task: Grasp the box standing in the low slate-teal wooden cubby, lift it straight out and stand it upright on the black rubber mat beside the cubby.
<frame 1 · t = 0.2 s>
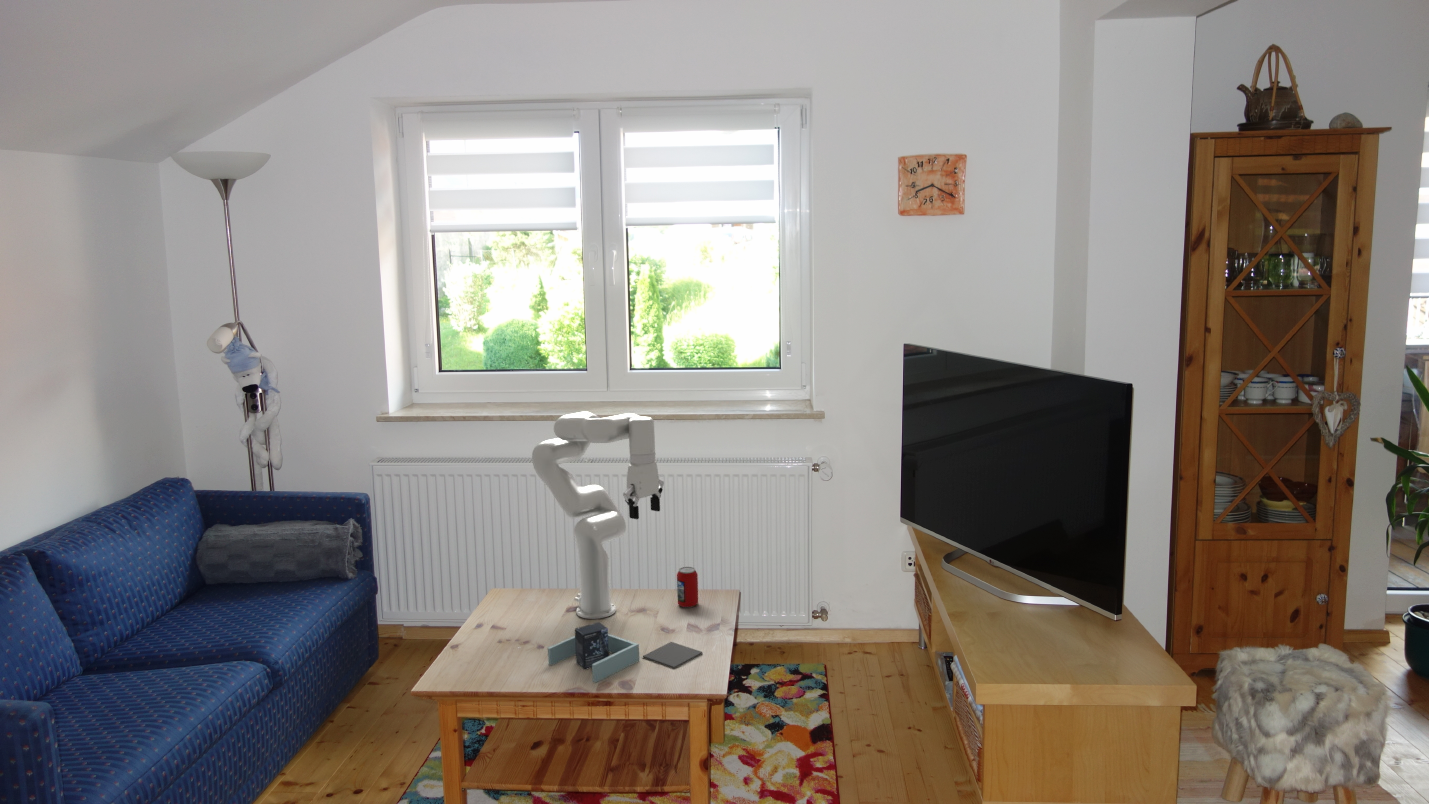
hand: (645, 514, 279), 36 cm above the table, tool pointing down, fingers open, 9 cm apart
box: (592, 663, 263), on the table
cubby: (592, 663, 263), on the table
beverage can: (688, 605, 305), on the table
mat: (672, 655, 267), on the table
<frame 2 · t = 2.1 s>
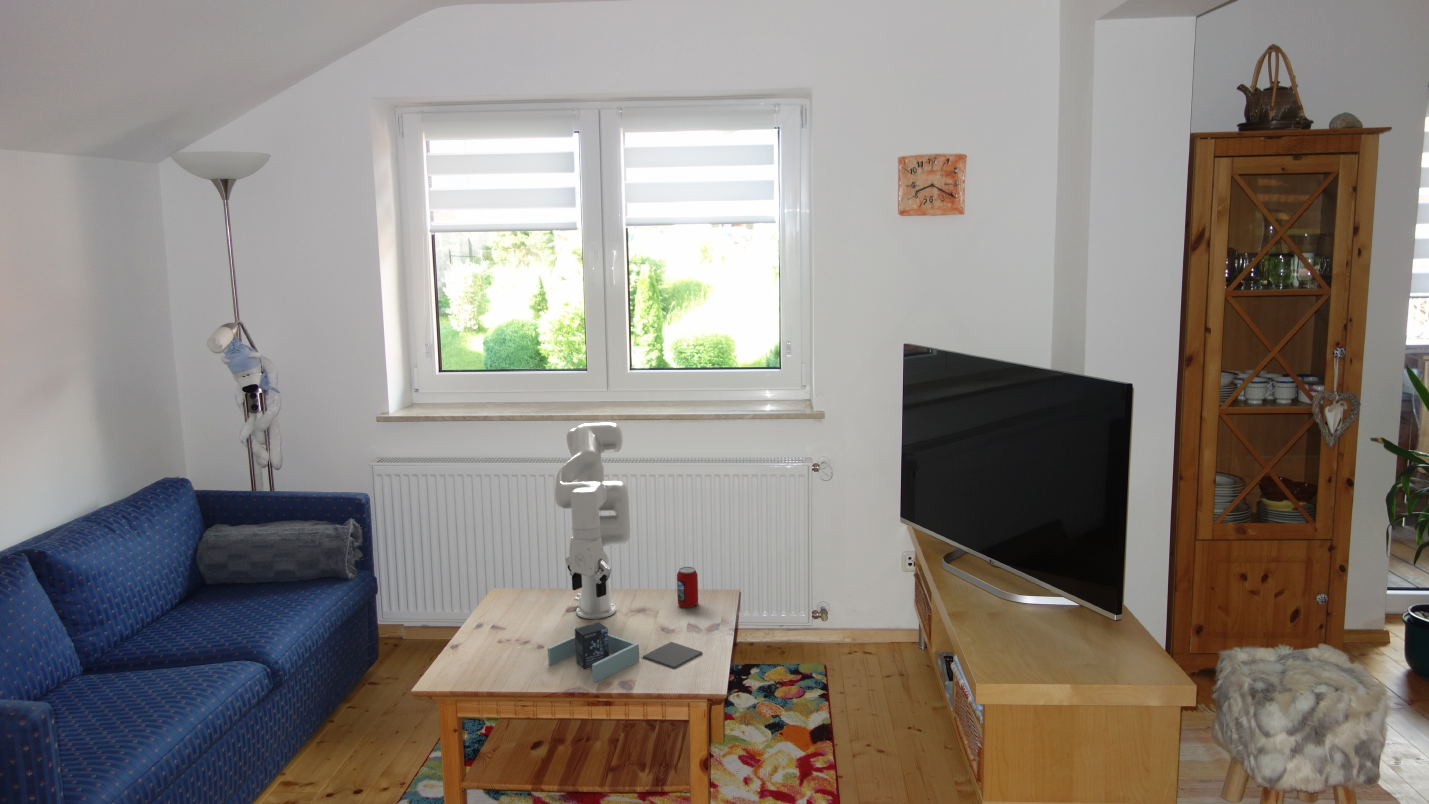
hand: (589, 592, 259), 21 cm above the table, tool pointing down, fingers open, 9 cm apart
nothing on the table moved.
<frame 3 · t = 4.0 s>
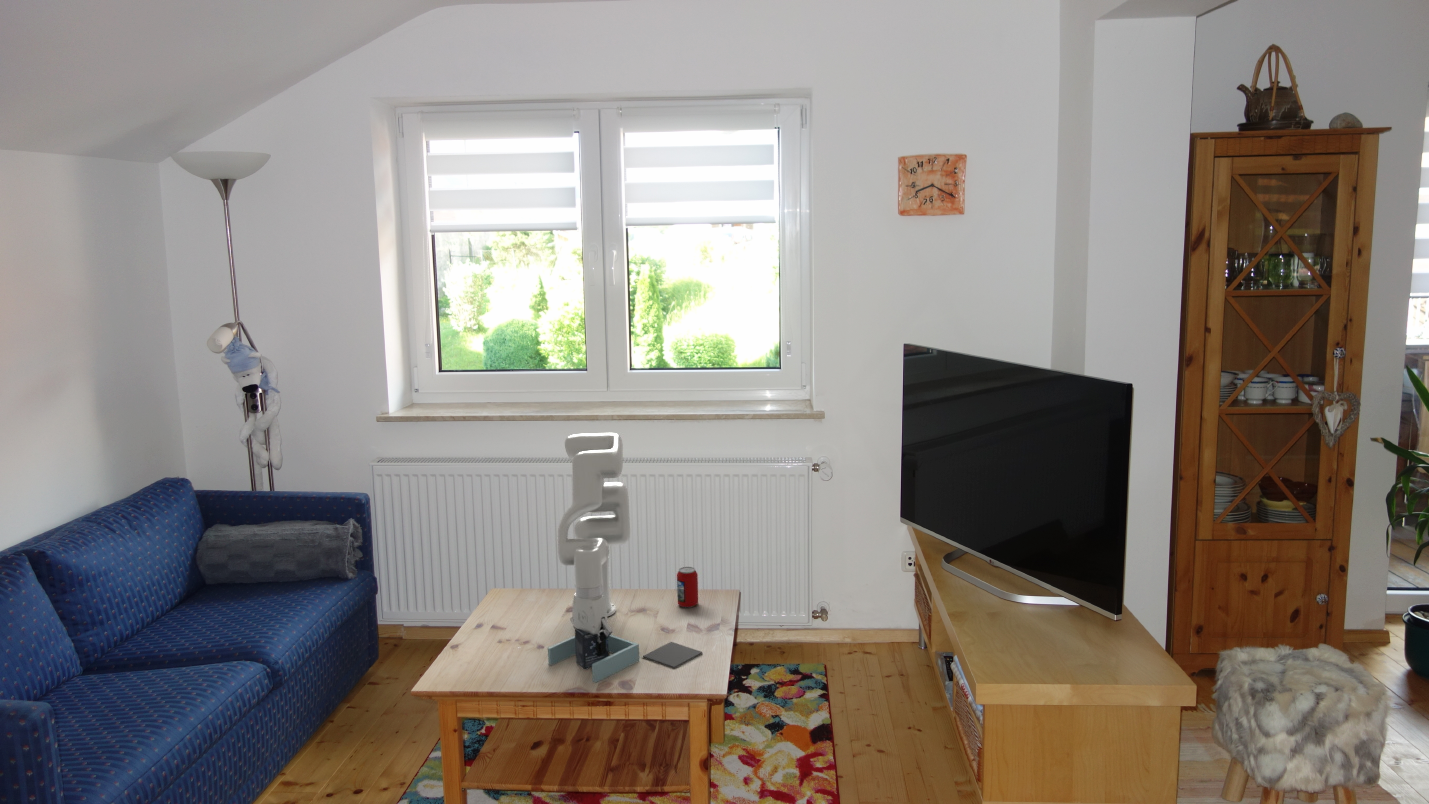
hand: (592, 650, 262), 4 cm above the table, tool pointing down, fingers closed on box, 6 cm apart
box: (592, 663, 263), on the table, touching gripper
everything else where it was.
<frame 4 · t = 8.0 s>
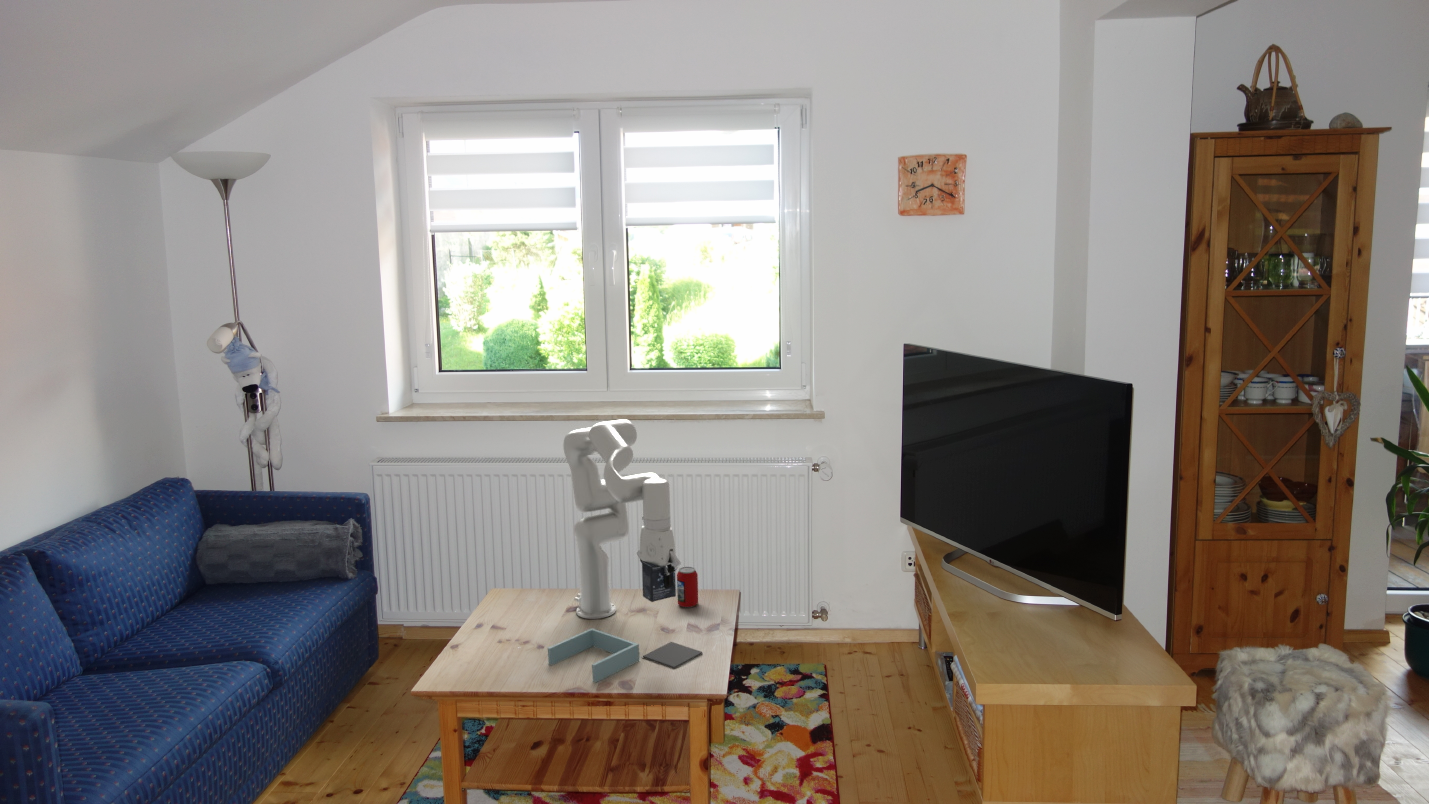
hand: (659, 583, 263), 22 cm above the table, tool pointing down, fingers closed on box, 6 cm apart
box: (659, 597, 263), point 18 cm above the table, touching gripper
everything else where it was.
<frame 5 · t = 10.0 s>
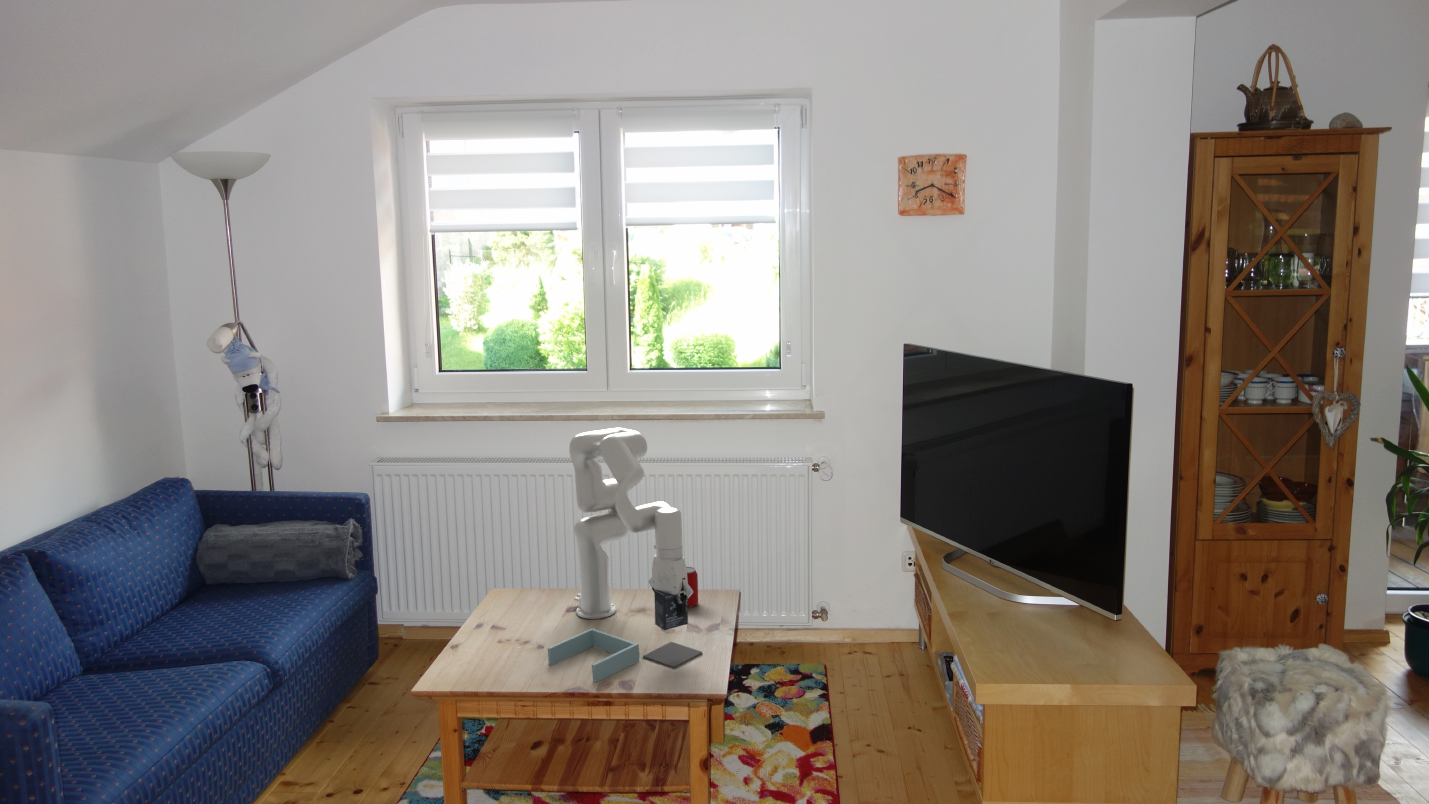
hand: (671, 611, 264), 13 cm above the table, tool pointing down, fingers closed on box, 6 cm apart
box: (671, 625, 265), point 9 cm above the table, touching gripper
everything else where it was.
when the fingers open (6 cm above the table, at t = 11.9 s): box drops 1 cm, resting on mat.
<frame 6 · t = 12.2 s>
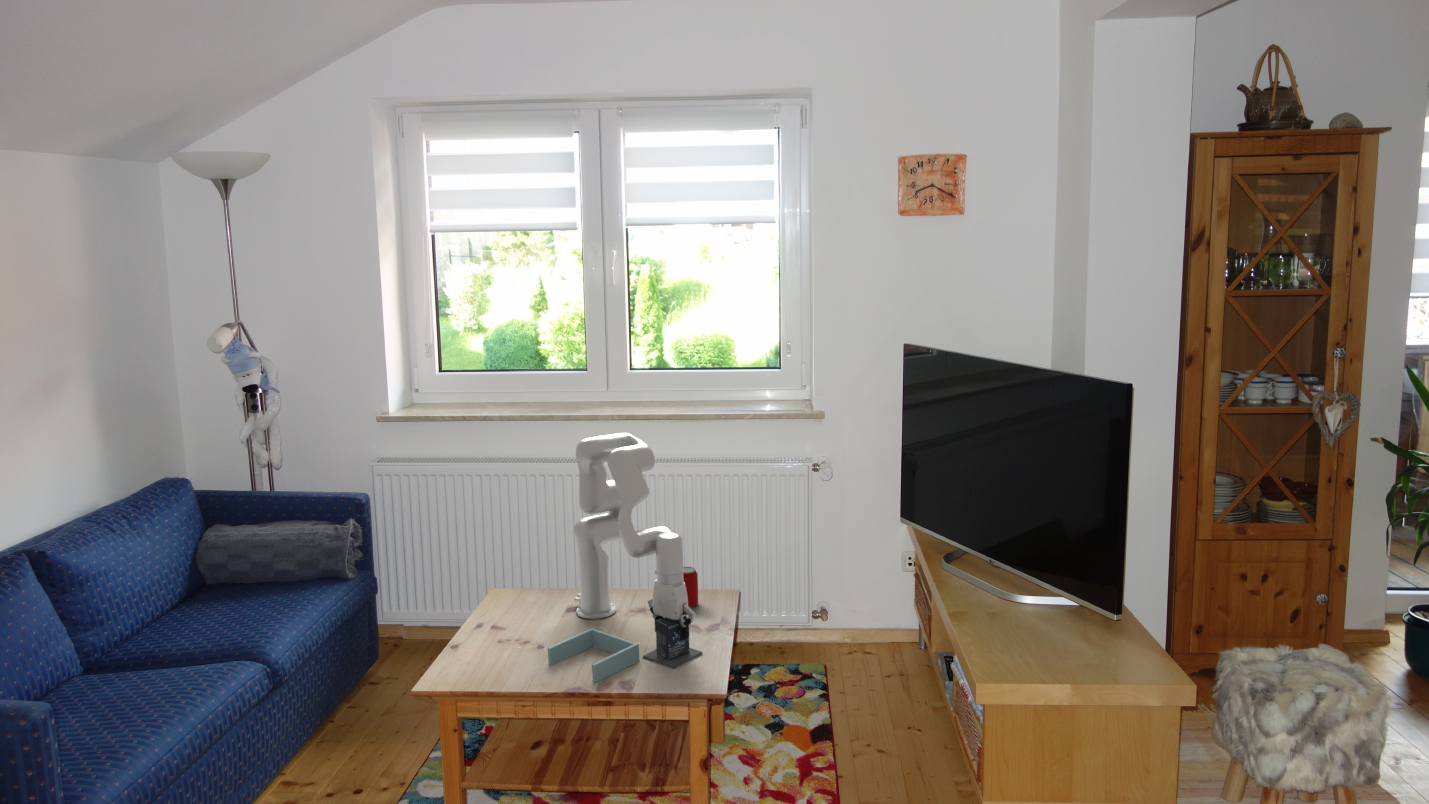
hand: (672, 634, 266), 6 cm above the table, tool pointing down, fingers open, 9 cm apart
box: (673, 654, 266), resting on mat
everything else where it was.
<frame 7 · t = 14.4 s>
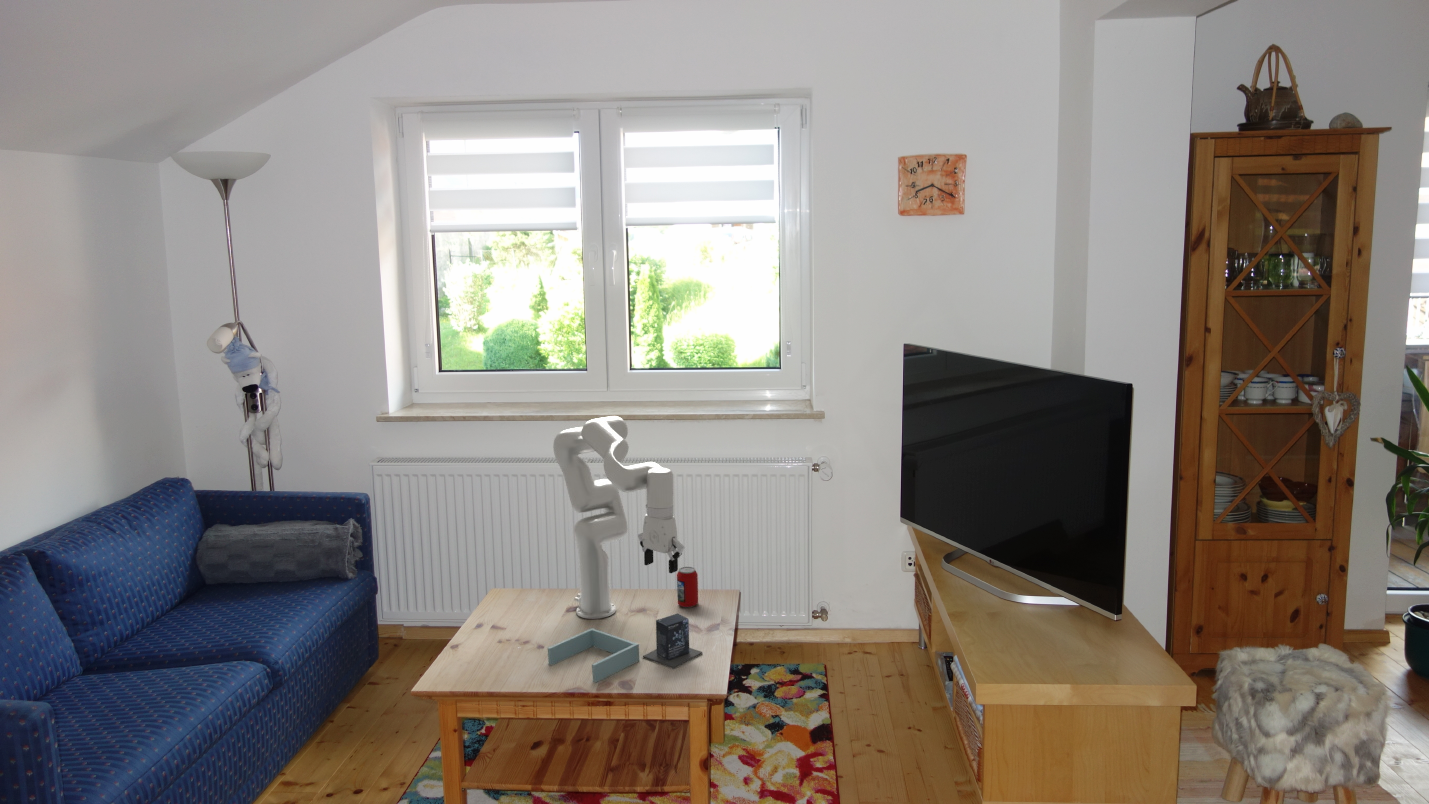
hand: (661, 567, 270), 24 cm above the table, tool pointing down, fingers open, 9 cm apart
nothing on the table moved.
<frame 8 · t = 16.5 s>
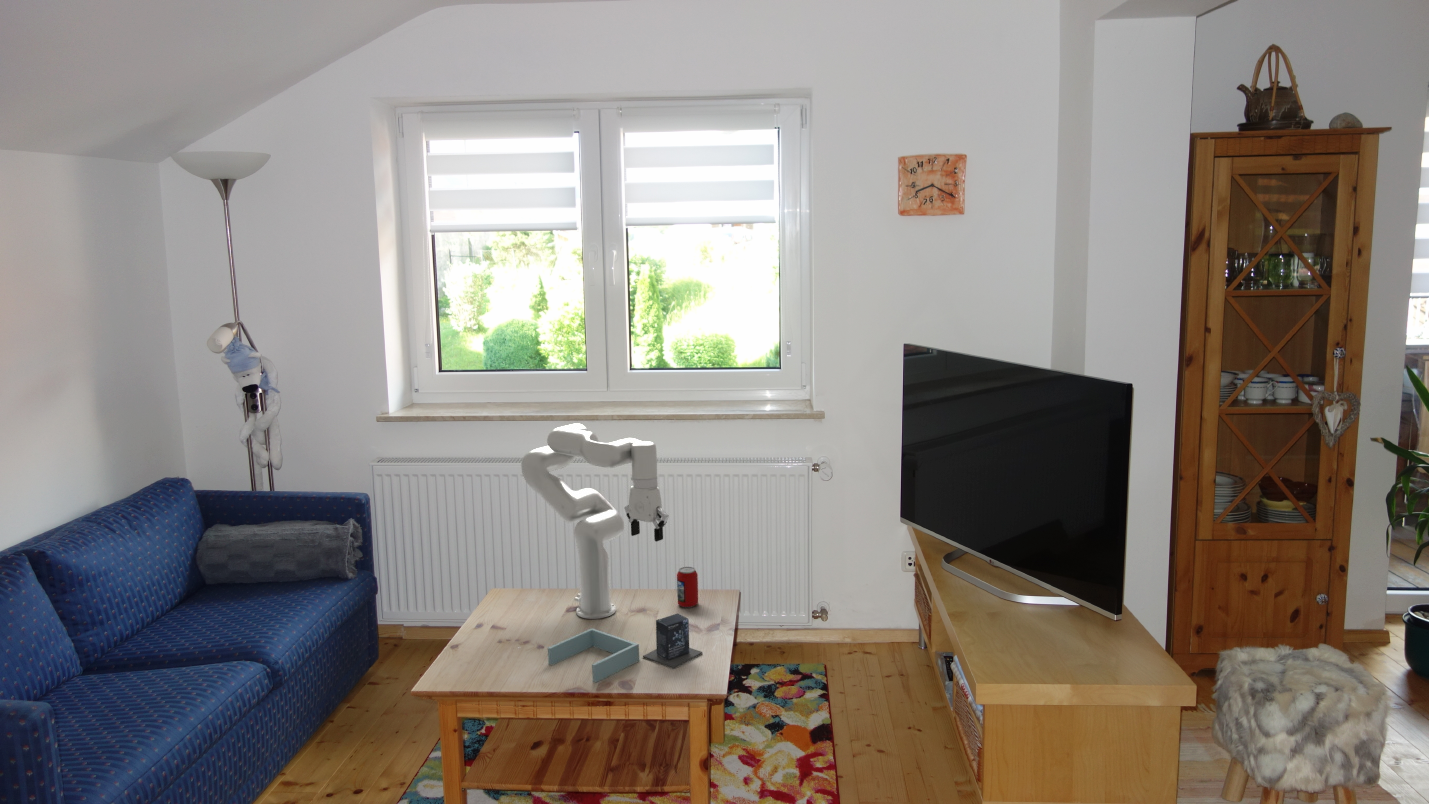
hand: (647, 537, 284), 28 cm above the table, tool pointing down, fingers open, 9 cm apart
nothing on the table moved.
at the end: box inside the target area on the mat (0.3 cm from its centre), point 0.4 cm above the mat's base; box tilted 0°; the gripper is holding nothing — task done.
